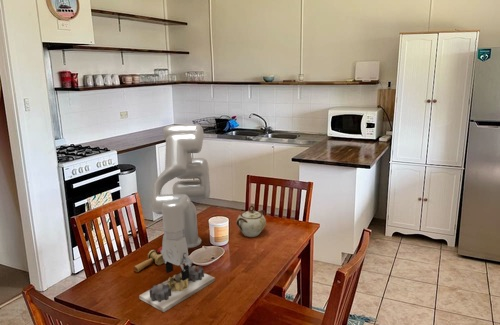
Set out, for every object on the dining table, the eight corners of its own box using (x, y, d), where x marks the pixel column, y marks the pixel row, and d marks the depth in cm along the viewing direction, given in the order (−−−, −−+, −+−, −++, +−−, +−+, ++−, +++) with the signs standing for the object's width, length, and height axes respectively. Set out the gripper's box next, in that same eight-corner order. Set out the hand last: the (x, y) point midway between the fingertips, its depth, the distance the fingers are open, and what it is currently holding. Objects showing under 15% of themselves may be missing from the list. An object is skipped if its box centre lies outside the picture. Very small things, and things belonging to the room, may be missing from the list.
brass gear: (164, 287, 152) (164, 280, 152) (179, 279, 158) (178, 272, 157) (177, 293, 148) (176, 286, 147) (192, 285, 153) (191, 277, 153)
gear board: (139, 298, 148) (137, 283, 146) (190, 270, 167) (189, 256, 166) (163, 312, 139) (162, 295, 138) (215, 280, 159) (214, 266, 157)
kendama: (143, 278, 165) (176, 256, 178) (139, 264, 164) (172, 244, 176) (133, 275, 170) (165, 254, 183) (128, 262, 169) (161, 242, 182)
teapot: (254, 224, 215) (254, 198, 212) (275, 231, 205) (275, 204, 201) (227, 235, 202) (226, 207, 198) (248, 244, 191) (247, 214, 188)
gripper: (151, 231, 150) (155, 272, 154) (182, 242, 140) (185, 286, 144) (166, 224, 156) (170, 265, 160) (197, 235, 145) (200, 278, 149)
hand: (177, 275), depth 152 cm, fingers open, 8 cm apart
